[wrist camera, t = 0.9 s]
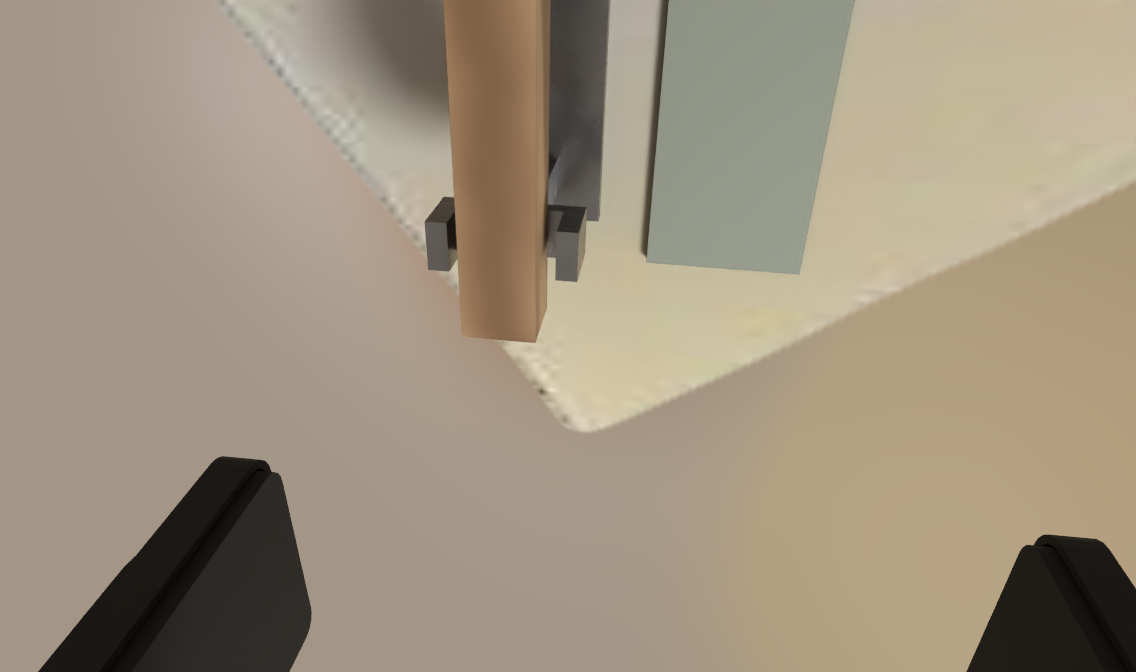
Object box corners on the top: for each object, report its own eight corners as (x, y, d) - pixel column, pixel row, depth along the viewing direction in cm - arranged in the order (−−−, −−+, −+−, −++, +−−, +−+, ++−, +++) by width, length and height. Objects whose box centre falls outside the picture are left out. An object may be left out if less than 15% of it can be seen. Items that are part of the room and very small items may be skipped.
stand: (618, -167, 35) (593, -188, 25) (599, 216, 45) (576, 306, 35) (471, -170, 36) (392, -192, 26) (484, 207, 46) (430, 294, 36)
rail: (552, -234, 27) (536, -249, 24) (546, 307, 38) (535, 342, 35) (457, -236, 27) (429, -251, 24) (479, 301, 39) (461, 336, 36)
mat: (898, -230, 33) (901, -232, 32) (797, 270, 45) (799, 274, 44) (688, -233, 34) (688, -235, 33) (646, 258, 46) (646, 262, 45)
